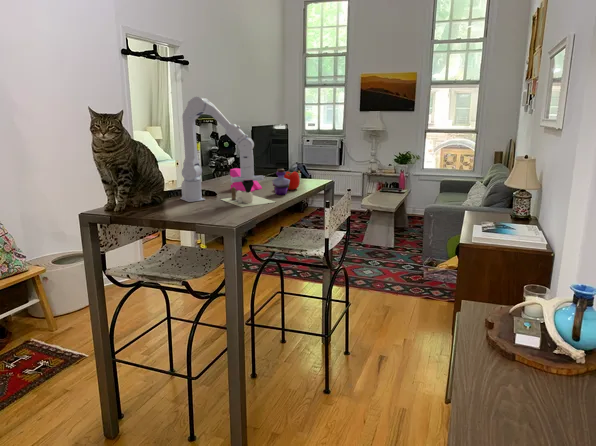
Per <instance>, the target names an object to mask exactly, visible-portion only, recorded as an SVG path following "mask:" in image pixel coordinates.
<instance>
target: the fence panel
mask: <svg viewBox="0 0 596 446" xmlns="http://www.w3.org/2000/svg"><path fill="white" fill-rule="evenodd" d="M253 195H254V193H253V191H252V192H249V193H248V192H246V191H240V190H239V191H238V190H236V197H237V200H238V198H239V197H241V198H242V201H247V202H253Z"/></svg>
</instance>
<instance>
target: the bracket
mask: <svg viewBox="0 0 596 446" xmlns="http://www.w3.org/2000/svg"><path fill="white" fill-rule="evenodd" d="M229 174H230V177H231V178H233V177H240V176H241V170H240V168H238V167H234V168H231V169H229ZM250 180H253V179H250ZM253 182H254V184H253V186H252V189H251V191H250V192H252V193H253V192H255V191H256V190H262V189H263V187H262V185H261V184H260V183H259V181H258V180H257V181H253ZM233 187H234V188H236V191H239V190H240V191H241V192H243V191H246V190H245V187H244V185H243V184H242V182H234V183H232V184H230V189H231V188H233Z"/></svg>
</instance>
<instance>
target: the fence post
mask: <svg viewBox="0 0 596 446" xmlns="http://www.w3.org/2000/svg"><path fill="white" fill-rule="evenodd" d="M230 191H231V198H232V200H236V197H237V190H236V188H234V187H233V188H231V187H230Z"/></svg>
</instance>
